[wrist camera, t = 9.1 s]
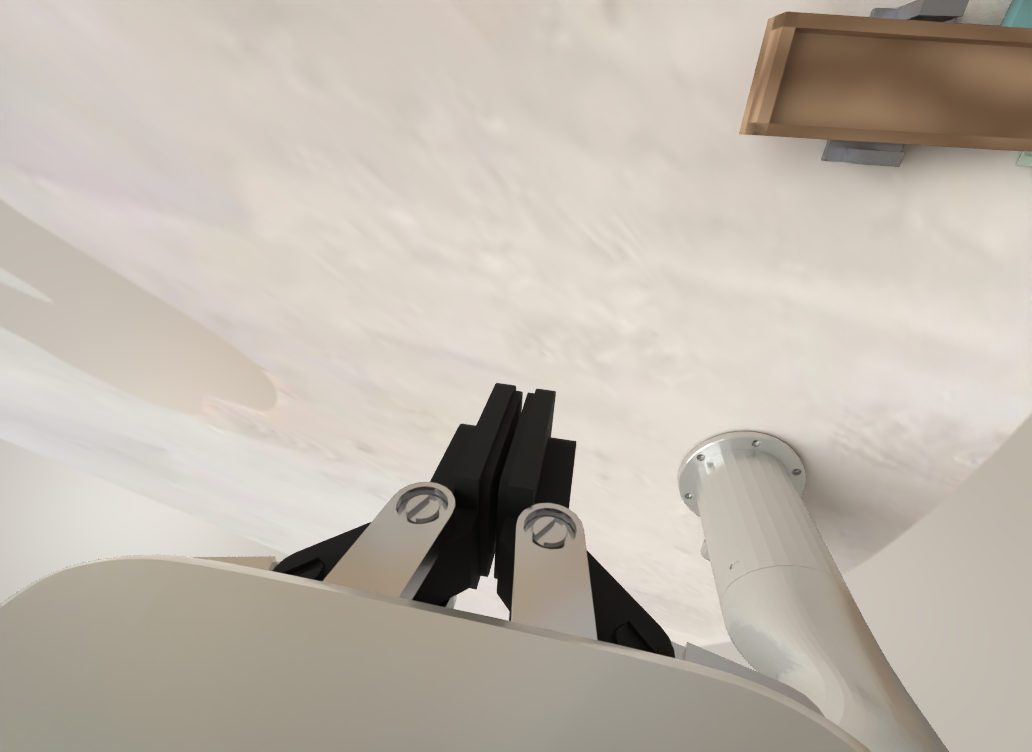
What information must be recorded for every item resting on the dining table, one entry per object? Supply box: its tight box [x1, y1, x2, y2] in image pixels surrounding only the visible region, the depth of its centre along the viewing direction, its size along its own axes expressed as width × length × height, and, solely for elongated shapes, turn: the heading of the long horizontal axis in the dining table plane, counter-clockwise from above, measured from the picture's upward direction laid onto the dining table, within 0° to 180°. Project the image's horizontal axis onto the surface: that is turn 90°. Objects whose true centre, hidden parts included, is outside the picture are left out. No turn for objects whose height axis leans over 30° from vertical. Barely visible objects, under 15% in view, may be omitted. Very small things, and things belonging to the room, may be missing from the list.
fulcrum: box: [821, 0, 969, 167], centre depth 31 cm, size 9×5×4 cm, turn 177°
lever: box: [739, 0, 1032, 152], centre depth 29 cm, size 10×20×2 cm, turn 86°
